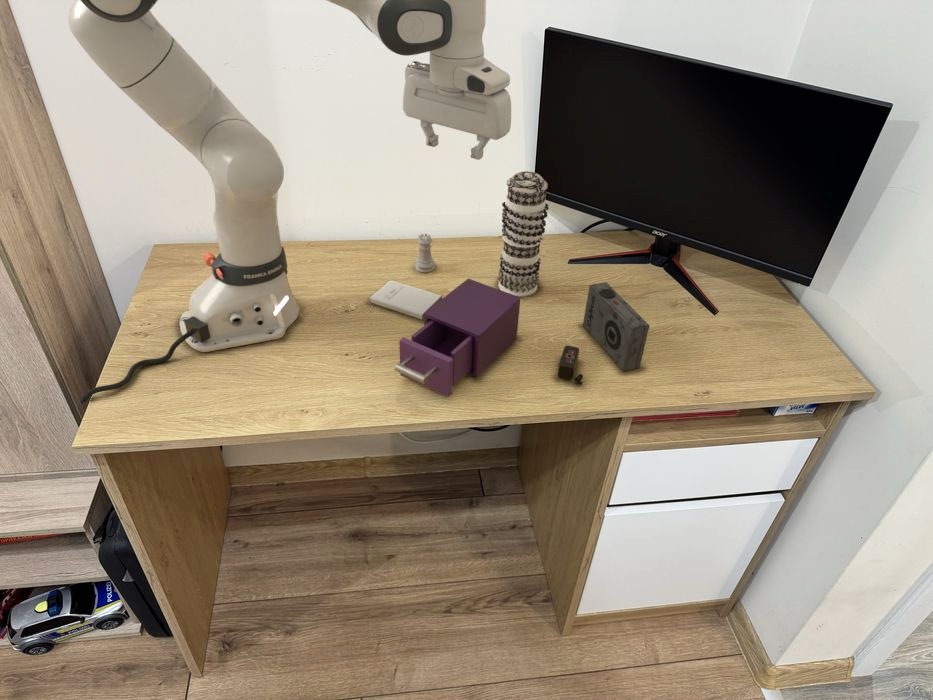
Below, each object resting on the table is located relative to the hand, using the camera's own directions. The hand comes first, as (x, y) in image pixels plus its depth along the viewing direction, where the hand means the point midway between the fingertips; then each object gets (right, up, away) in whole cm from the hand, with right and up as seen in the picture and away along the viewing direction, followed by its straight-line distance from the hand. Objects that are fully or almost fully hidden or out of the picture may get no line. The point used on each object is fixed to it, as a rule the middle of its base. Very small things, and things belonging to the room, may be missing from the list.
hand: (454, 151), depth 123 cm
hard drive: (-10, -25, +21) cm, 35 cm away
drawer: (-3, -39, +2) cm, 39 cm away
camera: (+30, -34, +12) cm, 47 cm away
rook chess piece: (-7, -17, +32) cm, 37 cm away
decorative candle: (+13, -21, +28) cm, 37 cm away
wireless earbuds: (+21, -39, +4) cm, 45 cm away
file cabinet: (+3, -34, +10) cm, 36 cm away
